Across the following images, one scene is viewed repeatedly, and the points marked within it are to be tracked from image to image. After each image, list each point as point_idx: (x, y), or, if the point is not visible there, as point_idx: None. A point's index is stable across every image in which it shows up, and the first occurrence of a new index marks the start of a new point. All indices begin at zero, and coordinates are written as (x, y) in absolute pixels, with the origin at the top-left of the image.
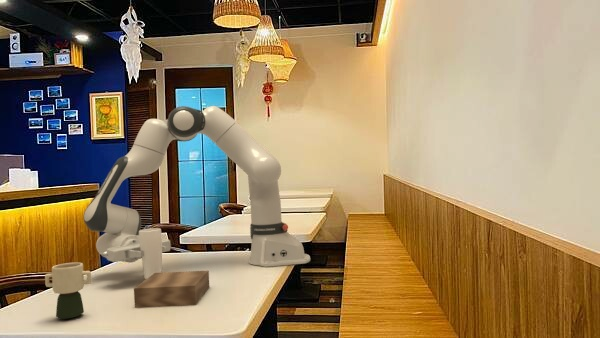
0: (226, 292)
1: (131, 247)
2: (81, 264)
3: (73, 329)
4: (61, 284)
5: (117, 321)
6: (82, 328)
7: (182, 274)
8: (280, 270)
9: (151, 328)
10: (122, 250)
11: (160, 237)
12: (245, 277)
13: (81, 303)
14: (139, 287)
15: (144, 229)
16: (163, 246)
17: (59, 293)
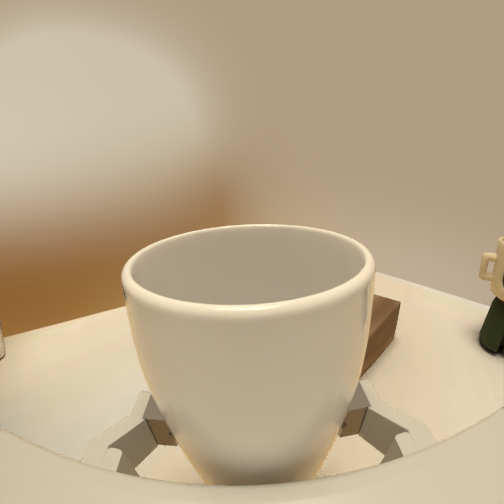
0: None
1: (414, 456)
2: (499, 239)
3: (471, 306)
4: None
5: (420, 305)
6: (461, 304)
7: None
8: (36, 330)
9: (380, 278)
10: (479, 421)
11: (208, 290)
12: (88, 348)
13: (486, 317)
14: (388, 301)
15: (248, 305)
16: (148, 396)
17: None
